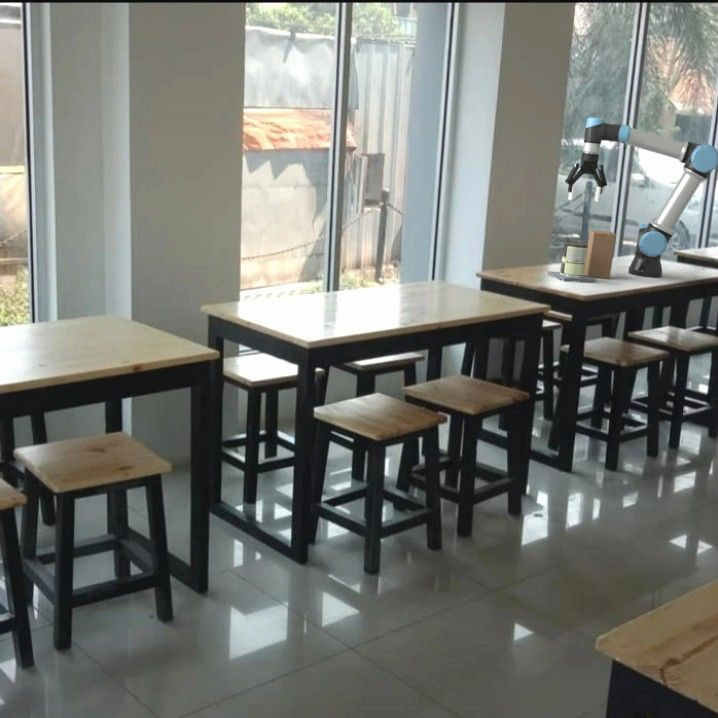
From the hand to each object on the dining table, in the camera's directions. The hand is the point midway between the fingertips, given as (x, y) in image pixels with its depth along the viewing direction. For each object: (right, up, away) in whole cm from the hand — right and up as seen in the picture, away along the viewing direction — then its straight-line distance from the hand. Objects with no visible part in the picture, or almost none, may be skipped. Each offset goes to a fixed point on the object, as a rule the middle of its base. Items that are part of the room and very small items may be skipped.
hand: (583, 200), depth 469 cm
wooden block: (+5, -35, -5) cm, 35 cm away
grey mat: (-9, -37, -18) cm, 42 cm away
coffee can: (-9, -35, -18) cm, 41 cm away
